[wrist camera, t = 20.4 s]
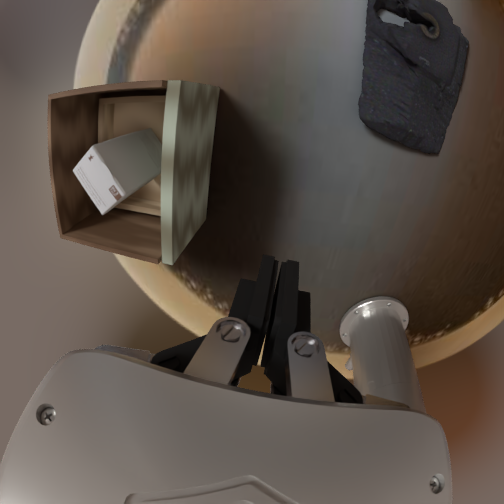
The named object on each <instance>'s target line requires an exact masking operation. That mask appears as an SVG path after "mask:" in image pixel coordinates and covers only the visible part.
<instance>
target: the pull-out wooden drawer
mask: <svg viewBox="0 0 504 504" xmlns="http://www.w3.org/2000/svg"><path fill="white" fill-rule="evenodd" d="M219 91H220V87H216V86H211V85H206V84H200V83H194V82H188V81H181V80H168V84H167V92H166V96H128V97H113V98H102V99H99V113H98V143H102V142H104V141H107V140H110V139H113V138H116V137H119V136H123V135H126V134H130V133H133V132H137V131H140V130H144V129H148V128H151V129H152V131H153V132H154V134H155V135H156V137H157V138H158V140H159V141H160V143H161V144H162V161H161V174H159V175H158V176H157V177H156V178H154V179H153V180H152V181H150V182H149V183H147V184H146V185H144V186H143V187H141V188H140V189H139V190H137V191H136V192H134V193H133V194H131V195H130V196H129V197H127V198H126V199H124V200H123V201H122V202H120V203H119V204H118V205H116V206H115V207H114V208H119V209H125V210H131V211H136V212H142V213H147V214H153V215H158V216H161V246H162V263H165V264H169V265H173V264H174V263H175V261H176V260H177V258H178V257H179V255H180V254H181V253H182V251H183V250H184V249H185V247H186V246H187V244H188V243H189V242H190V240H191V239H192V238H193V236H194V235H195V233H196V232H197V231H198V229H199V228H200V227H201V225H202V224H203V223H204V221H205V220H206V214H207V201H208V189H209V178H210V167H211V157H212V148H213V139H214V130H215V122H216V114H217V106H218V98H219Z"/></svg>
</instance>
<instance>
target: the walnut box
mask: <svg viewBox="0 0 504 504" xmlns="http://www.w3.org/2000/svg"><path fill="white" fill-rule="evenodd" d="M167 84H168V81H164V80H157V81H137V82H125V83H114V84H106V85H98V86H91V87H85V88H79V89H74V90H68V91H64V92H59V93H54V94H50V95H48V151H49V166H50V176H51V185H52V193H53V200H54V206H55V212H56V218H57V223H58V228H59V233H60V237H61V238H62V239H66V240H70V241H73V242H77V243H80V244H83V245H87V246H91V247H94V248H98V249H102V250H105V251H109V252H113V253H116V254H120V255H124V256H128V257H132V258H135V259H139V260H143V261H147V262H151V263H155V264H159V262H160V261H161V260H162V246H161V216H158V215H153V214H147V213H142V212H136V211H131V210H125V209H119V208H113V209H111V210H110V211H109V212H107V213H106V214H104V215H102V214H101V212H100V211H99V209H98V208H97V207H96V205H95V204H94V202H93V201H92V199H91V198H90V196H89V195H88V193H87V192H86V190H85V189H84V187H83V186H82V184H81V183H80V181H79V180H78V178H77V177H76V175H75V174H74V172H73V169H74V168H75V167H76V165H77V164H78V163H79V161H80V160H81V159H82V158H83V156H84V155H85V154H86V153H87V152H88V150H89V149H90V148H91V147H92V146H93V145H95V144H98V113H99V99H102V98H113V97H128V96H166V92H167Z"/></svg>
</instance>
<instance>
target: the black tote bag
mask: <svg viewBox="0 0 504 504" xmlns="http://www.w3.org/2000/svg"><path fill="white" fill-rule="evenodd" d="M379 9H387V10H389V11H392V12H394V13H396V14H397V15H399V16H400V17H403V18H405V17H407V19H408V20H409V21H411V22H413V23H415V24H413V23H409V22H404V27H402V26H398V25H396V24H391V23H386V22H383V21H382V20H381V19H380V17H379V16H378V15H377V13H376V12H377V11H378V10H379ZM366 24H367V26H366V31H365V32H366V36H365V39H366V41H365V43H364V45H365V49H364V53H363V65H364V69H363V80H362V93H361V95H360V98H359V103H358V105H359V116H360V119H361V120H362V121H363V122H364V123H365V124H366V125H367V126H368V127H369V128H371V129H373V130H376V131H377V132H379V133H381V134H383V135H385V136H386V137H388V138H389V139H392V140H395V141H398V142H401V143H402V144H404V145H406V146H408V147H411V148H413V149H420V150H421V151H422V152H424V153H437V154H438V153H439V151H440V149H441V147H442V144H443V142H444V139H445V134H446V129H447V127H448V126H449V123H450V120H451V118H452V113H453V111H454V108H455V105H456V102H457V98H458V94H459V87H460V86H461V84H462V83H461V81H462V76H463V73H464V65H465V61H466V54H467V48H468V44H469V41H468V40H467V38H465V37H464V36H463V34H462V33H461V30H460V27H458V26H456V25H454V24H453V19H452V17H451V15H450V14H449V12H448V9H447V8H446V7H445V6H444V5H443V4H441V3H440V2H438V1H436V0H368V8H367V17H366Z"/></svg>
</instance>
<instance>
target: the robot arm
mask: <svg viewBox="0 0 504 504" xmlns="http://www.w3.org/2000/svg"><path fill="white" fill-rule="evenodd" d="M274 258H275V257H273V256H268V255H263V257H262V262H261V266H260V270H259V274H258V278H257V282H255V281H251V280H246V279H240V282H239V285H238V288H237V291H236V294H235V297H234V300H233V304H232V307H231V310H230V313H229V316H228V317H225V318H221V319H219V320H217V321H216V322H215V323H214V324H213V326H212V327H211V329H210V331H209V332H208V334H207V335H204V336H202V337H199V338H196V339H194V340H191V341H188V342H185V343H183V344H180V345H177V346H175V347H172V348H169V349H166V350H163V351H161V352H159V353H157V354H150V352H149V351H145V350H137V349H130V348H124V347H117V346H111V345H101V346H98V347H96V348H95V349H79V350H74V351H70V352H68V353H67V354H65V355H64V356H62V357H61V358H60V359H59V360H58V361H57V362H56V363H55V364H54V365H53V367H52V368H51V369H50V370H49V372H48V373H47V374H46V376H45V377H44V379H43V380H42V382H41V383H40V384H39V386H38V388H37V389H36V391H35V392H34V394H33V396H32V397H31V399H30V401H29V403H28V404H27V406H26V408H25V410H24V412H23V414H22V415H21V418H20V420H19V421H18V423H17V425H16V427H15V429H14V431H13V434H12V436H11V438H10V441H9V443H8V446H7V448H6V451H5V453H4V456H3V458H2V461H1V464H0V504H452V474H451V464H450V456H449V450H448V445H447V441H446V438H445V434H444V431H443V429H442V426H441V425H440V423H439V422H438V421H437V420H436V419H435V418H433V417H432V416H430V415H428V414H426V410H425V406H424V402H423V398H422V393H421V389H420V385H419V381H418V377H417V373H416V369H415V365H414V361H413V358H412V354H411V350H410V347H409V344H408V340H407V337H406V334H405V329H406V328H407V325H408V321H409V316H408V312H407V309H406V307H405V306H404V304H403V303H402V302H400V301H399V300H397V299H395V298H392V297H384V296H380V297H373V298H369V299H366V300H364V301H361V302H359V303H358V304H356V305H354V306H353V307H352V308H350V309H349V310H348V311H347V312H346V313H345V315H344V316H343V318H342V320H341V323H340V328H339V329H340V336H341V339H342V340H343V342H344V343H345V344H346V345H347V346H349V347H351V353H350V356H351V357H350V358H349V359H348V361H347V362H346V364H345V367H346V369H348V370H353V376H354V386H353V385H352V384H351V383H350V382H349V381H348V380H347V379H346V378H345V377H344V376H343V375H342V374H341V373H340V372H338V371H337V370H336V369H335V368H334V367H333V366H332V365H331V364H330V363H329V362H328V361H327V359H326V354H325V349H324V345H323V343H322V341H321V340H320V339H319V338H318V337H317V336H315V335H314V334H312V333H310V293H309V292H304V291H299V290H298V281H299V262H297V261H292V260H287V262H282V264H281V268H280V272H279V276H278V280H277V284H276V288H275V282H276V276H277V269H278V262H279V261H277V260H274ZM274 289H275V292H274ZM266 331H267V332H266ZM265 335H266V337H265ZM264 338H265V343H264V349H263V355H262V360H261V367H265V370H264V374H265V375H266V376H267V377H268V378H269V379H270V381H271V387H270V388H271V394H269V393H264V392H258V391H253V390H249V389H244V388H239V387H237V386H238V384H239V381H240V378H241V377H242V376H244V375H246V374H248V373H250V372H251V369H252V365H255V366H256V365H257V363H258V359H259V356H260V352H261V349H262V345H263V342H264Z"/></svg>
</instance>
